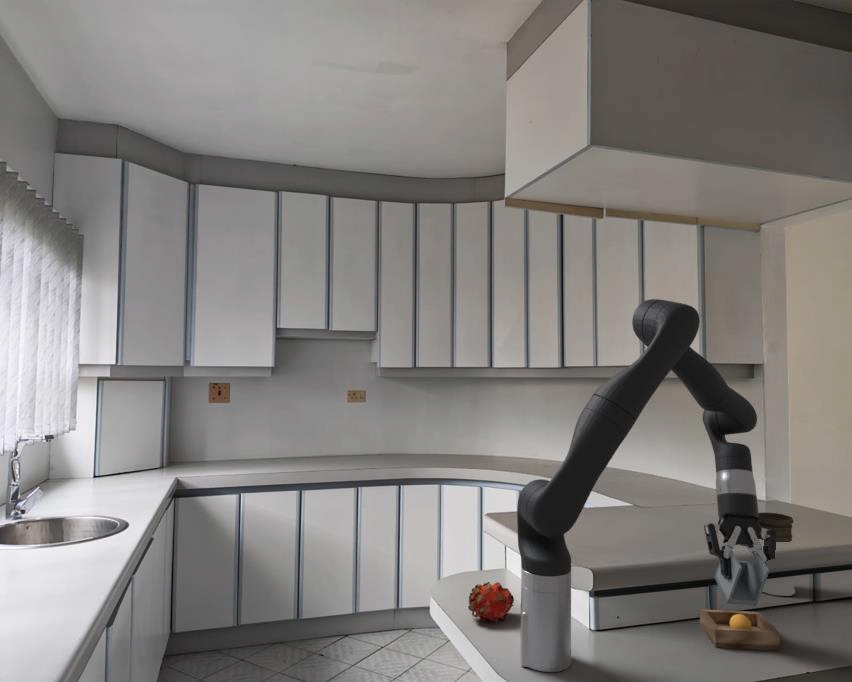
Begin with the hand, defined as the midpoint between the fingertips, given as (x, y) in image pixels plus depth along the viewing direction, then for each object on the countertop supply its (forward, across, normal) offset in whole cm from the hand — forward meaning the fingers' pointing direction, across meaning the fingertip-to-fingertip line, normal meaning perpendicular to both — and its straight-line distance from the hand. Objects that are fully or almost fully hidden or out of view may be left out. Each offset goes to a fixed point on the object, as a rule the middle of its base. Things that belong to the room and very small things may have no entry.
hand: (744, 580), depth 128 cm
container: (-1, +23, +32) cm, 40 cm away
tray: (+11, +2, +8) cm, 13 cm away
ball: (+8, +1, +6) cm, 10 cm away
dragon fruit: (+11, -47, +18) cm, 52 cm away
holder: (+2, 0, +4) cm, 5 cm away
